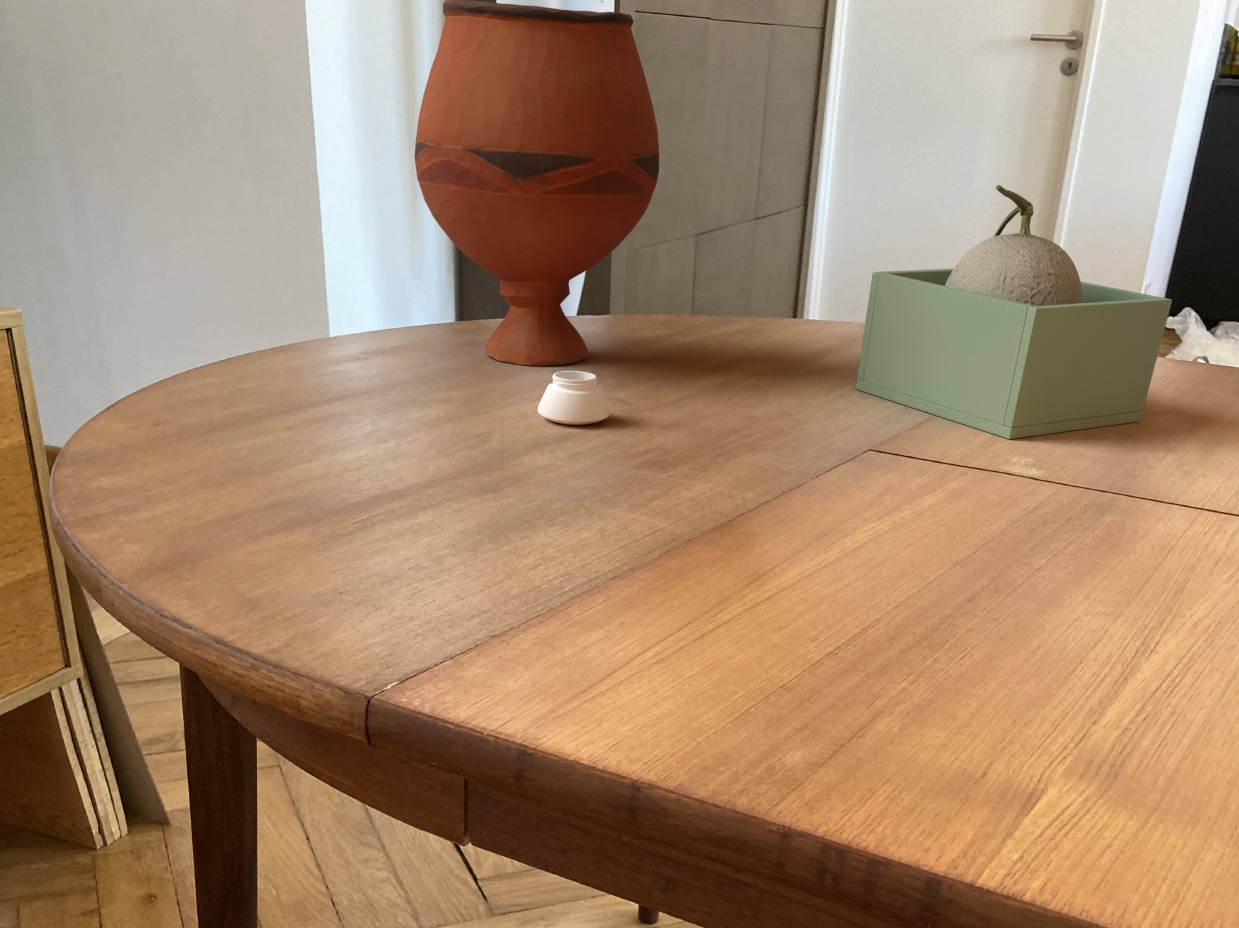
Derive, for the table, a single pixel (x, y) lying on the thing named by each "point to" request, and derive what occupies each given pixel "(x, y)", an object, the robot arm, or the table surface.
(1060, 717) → the table surface
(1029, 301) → the fruit
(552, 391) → the white jar
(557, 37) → the goblet
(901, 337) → the bin
